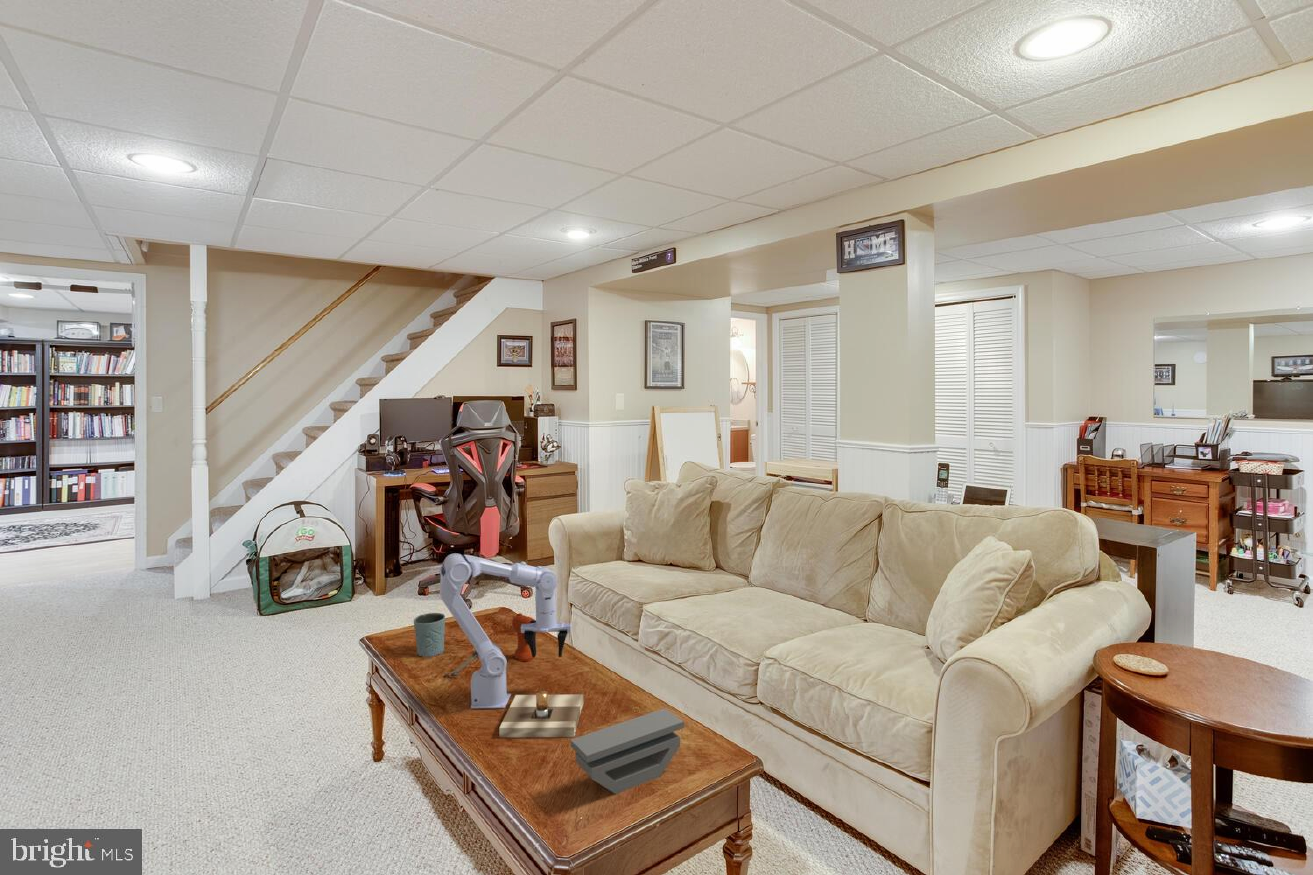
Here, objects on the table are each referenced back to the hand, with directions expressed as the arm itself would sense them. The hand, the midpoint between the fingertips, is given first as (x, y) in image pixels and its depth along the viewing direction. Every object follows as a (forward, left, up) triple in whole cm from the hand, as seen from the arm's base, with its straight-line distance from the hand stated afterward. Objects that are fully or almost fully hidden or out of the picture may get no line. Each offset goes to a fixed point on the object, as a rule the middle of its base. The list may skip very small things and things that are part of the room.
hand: (547, 655), depth 192 cm
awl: (+2, -19, -10) cm, 21 cm away
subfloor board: (+2, -17, -10) cm, 20 cm away
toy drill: (-9, +21, -11) cm, 25 cm away
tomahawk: (-29, +19, -11) cm, 37 cm away
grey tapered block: (+26, -43, -11) cm, 52 cm away
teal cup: (-45, +29, -11) cm, 55 cm away
